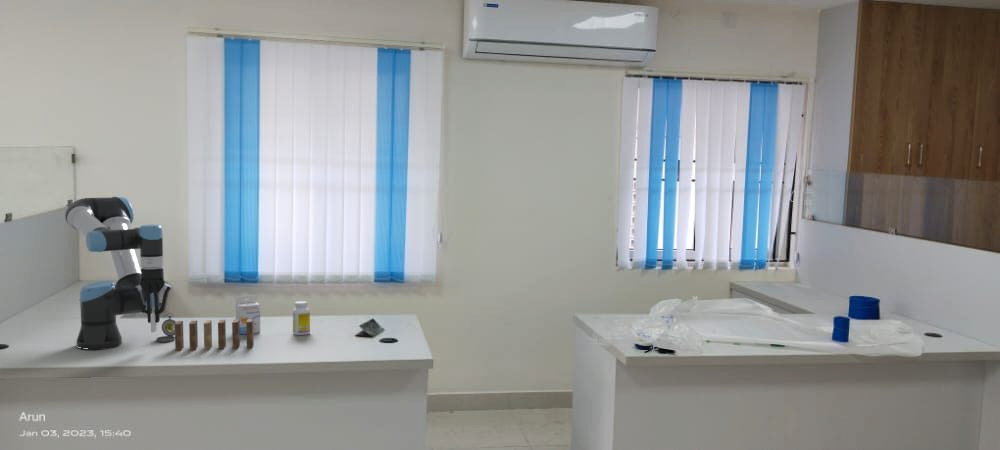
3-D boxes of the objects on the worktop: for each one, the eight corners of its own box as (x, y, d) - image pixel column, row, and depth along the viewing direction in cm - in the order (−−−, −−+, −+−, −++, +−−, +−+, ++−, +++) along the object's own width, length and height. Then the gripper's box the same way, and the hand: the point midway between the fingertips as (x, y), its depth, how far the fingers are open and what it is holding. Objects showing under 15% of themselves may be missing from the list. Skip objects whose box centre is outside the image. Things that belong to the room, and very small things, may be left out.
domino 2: (189, 350, 289) (189, 323, 288) (192, 346, 294) (191, 320, 293) (195, 350, 290) (194, 323, 289) (197, 346, 295) (197, 320, 294)
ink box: (239, 335, 313) (238, 298, 312) (236, 332, 318) (235, 296, 316) (260, 332, 318) (260, 296, 317) (257, 330, 322) (256, 294, 321)
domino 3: (218, 349, 291) (217, 322, 290) (220, 345, 296) (219, 319, 295) (224, 349, 292) (223, 322, 291) (225, 345, 297) (225, 319, 296)
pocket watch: (157, 343, 299) (156, 317, 298) (155, 338, 306) (154, 313, 305) (180, 341, 302) (179, 315, 301) (178, 336, 310) (177, 311, 309)
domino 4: (232, 348, 292) (232, 322, 291) (234, 345, 297) (233, 319, 296) (238, 348, 293) (237, 322, 292) (239, 345, 298) (239, 319, 297)
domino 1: (175, 350, 288) (174, 324, 287) (178, 347, 293) (177, 321, 292) (181, 350, 289) (180, 323, 288) (183, 347, 294) (183, 320, 293)
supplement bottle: (313, 332, 319) (313, 301, 318) (302, 336, 313) (302, 304, 312) (300, 331, 322) (299, 300, 320) (289, 334, 316) (289, 302, 314)
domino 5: (246, 348, 293) (246, 322, 292) (248, 345, 298) (247, 319, 297) (252, 348, 294) (251, 321, 293) (253, 344, 299) (253, 318, 298)
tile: (204, 349, 290) (203, 323, 289) (206, 346, 295) (205, 320, 294) (210, 349, 291) (209, 323, 290) (212, 346, 296) (211, 320, 295)
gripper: (130, 269, 281) (132, 334, 283) (168, 268, 284) (170, 333, 286) (135, 266, 288) (137, 329, 291) (173, 265, 291) (175, 328, 293)
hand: (154, 331), depth 288 cm, fingers closed
